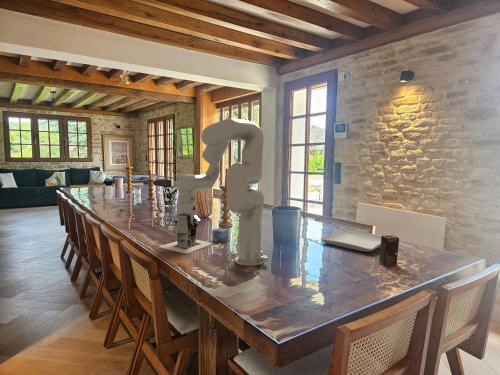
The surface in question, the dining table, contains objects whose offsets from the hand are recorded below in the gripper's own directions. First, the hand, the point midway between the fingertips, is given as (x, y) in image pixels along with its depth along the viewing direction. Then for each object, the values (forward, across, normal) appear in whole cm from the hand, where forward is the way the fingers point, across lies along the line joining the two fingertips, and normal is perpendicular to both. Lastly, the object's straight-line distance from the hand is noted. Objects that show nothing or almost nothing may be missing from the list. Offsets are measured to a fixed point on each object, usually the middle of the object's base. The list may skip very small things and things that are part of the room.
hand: (186, 234), depth 162 cm
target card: (+6, 0, 0) cm, 6 cm away
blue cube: (+6, -8, -17) cm, 20 cm away
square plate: (+6, -70, -51) cm, 87 cm away
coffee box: (+6, 0, 0) cm, 6 cm away
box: (+6, -89, -27) cm, 93 cm away
